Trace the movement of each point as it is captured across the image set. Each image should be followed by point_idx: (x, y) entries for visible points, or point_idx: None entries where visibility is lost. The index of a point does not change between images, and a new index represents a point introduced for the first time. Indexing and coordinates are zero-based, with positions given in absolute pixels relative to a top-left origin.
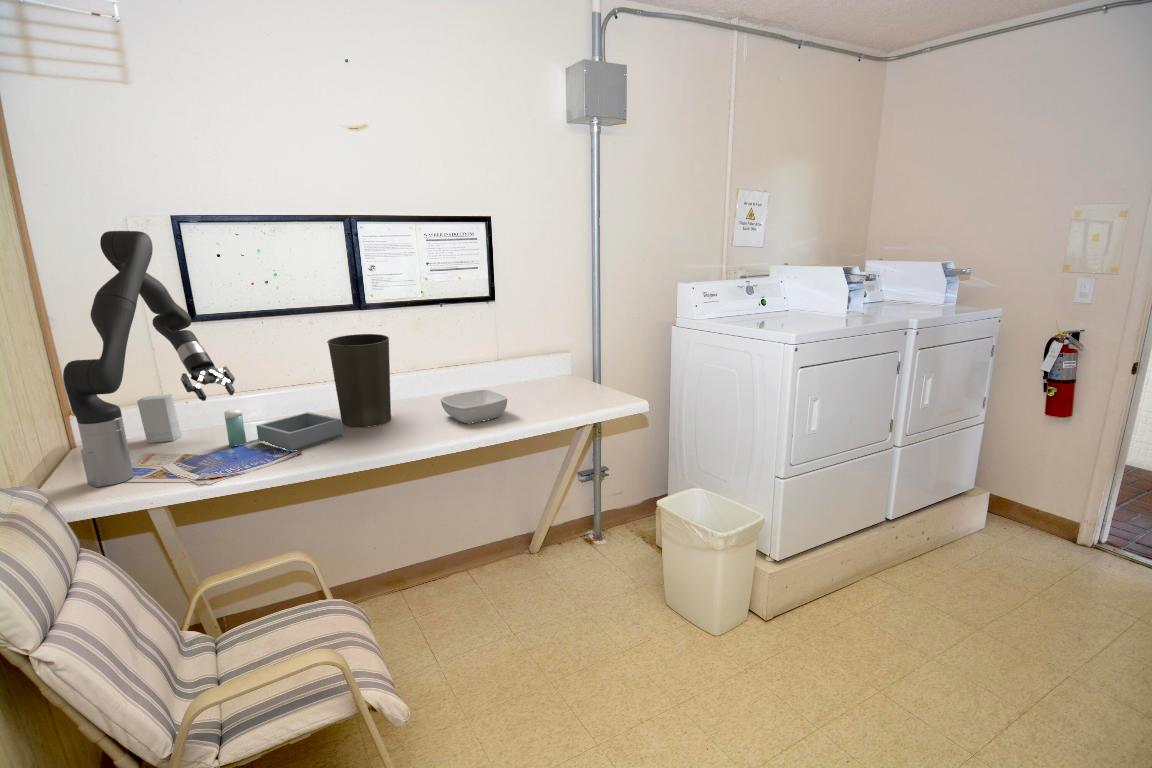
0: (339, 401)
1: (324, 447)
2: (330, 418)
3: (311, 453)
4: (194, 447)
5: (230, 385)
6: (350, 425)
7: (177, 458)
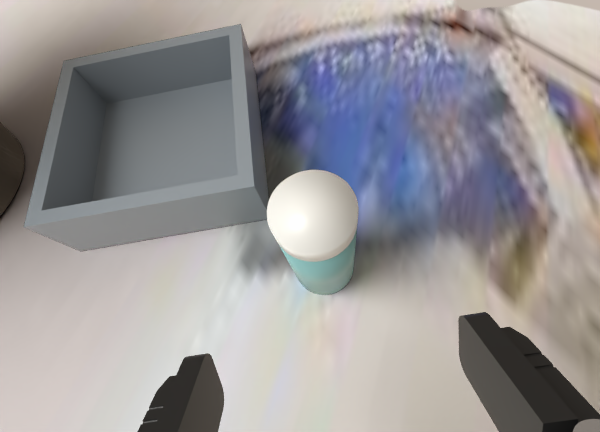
0: None
1: None
2: (67, 87)
3: None
4: None
5: (155, 428)
6: (20, 159)
7: (543, 265)
